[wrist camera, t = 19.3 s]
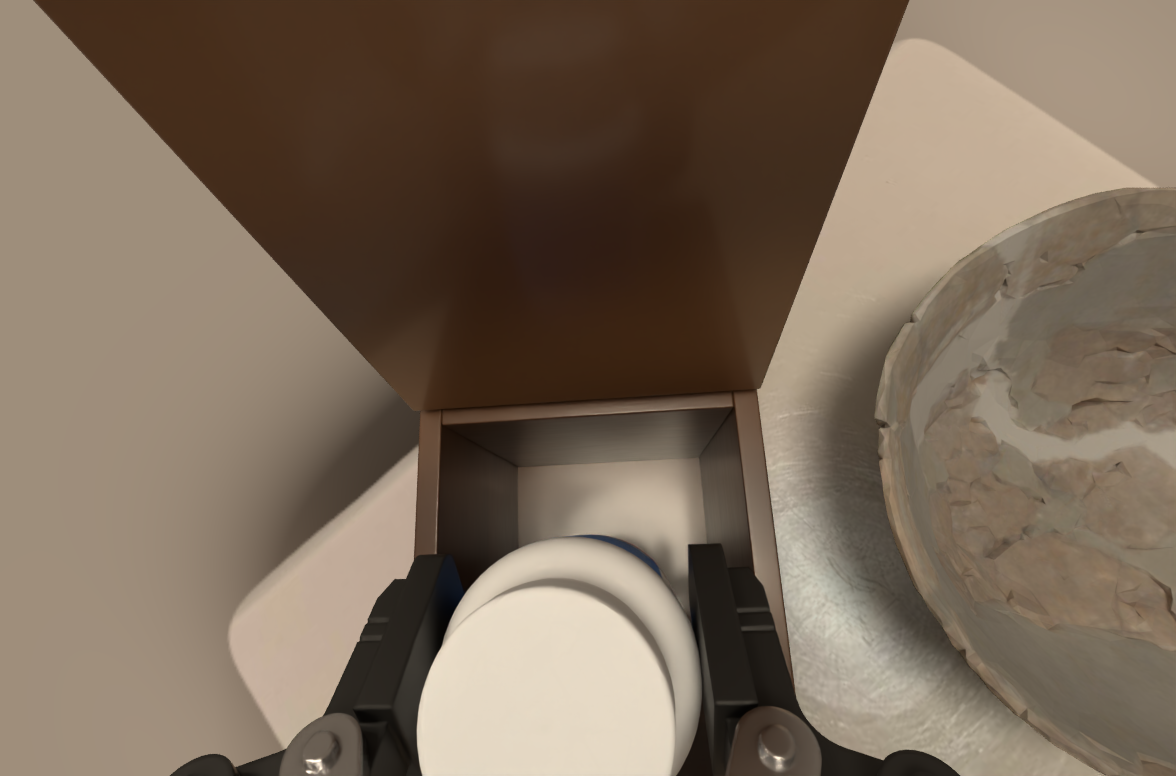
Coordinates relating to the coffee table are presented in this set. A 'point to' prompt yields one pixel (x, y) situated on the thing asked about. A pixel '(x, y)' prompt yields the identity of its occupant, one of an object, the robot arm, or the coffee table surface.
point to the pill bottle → (564, 668)
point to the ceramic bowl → (1050, 471)
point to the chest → (604, 488)
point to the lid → (516, 171)
